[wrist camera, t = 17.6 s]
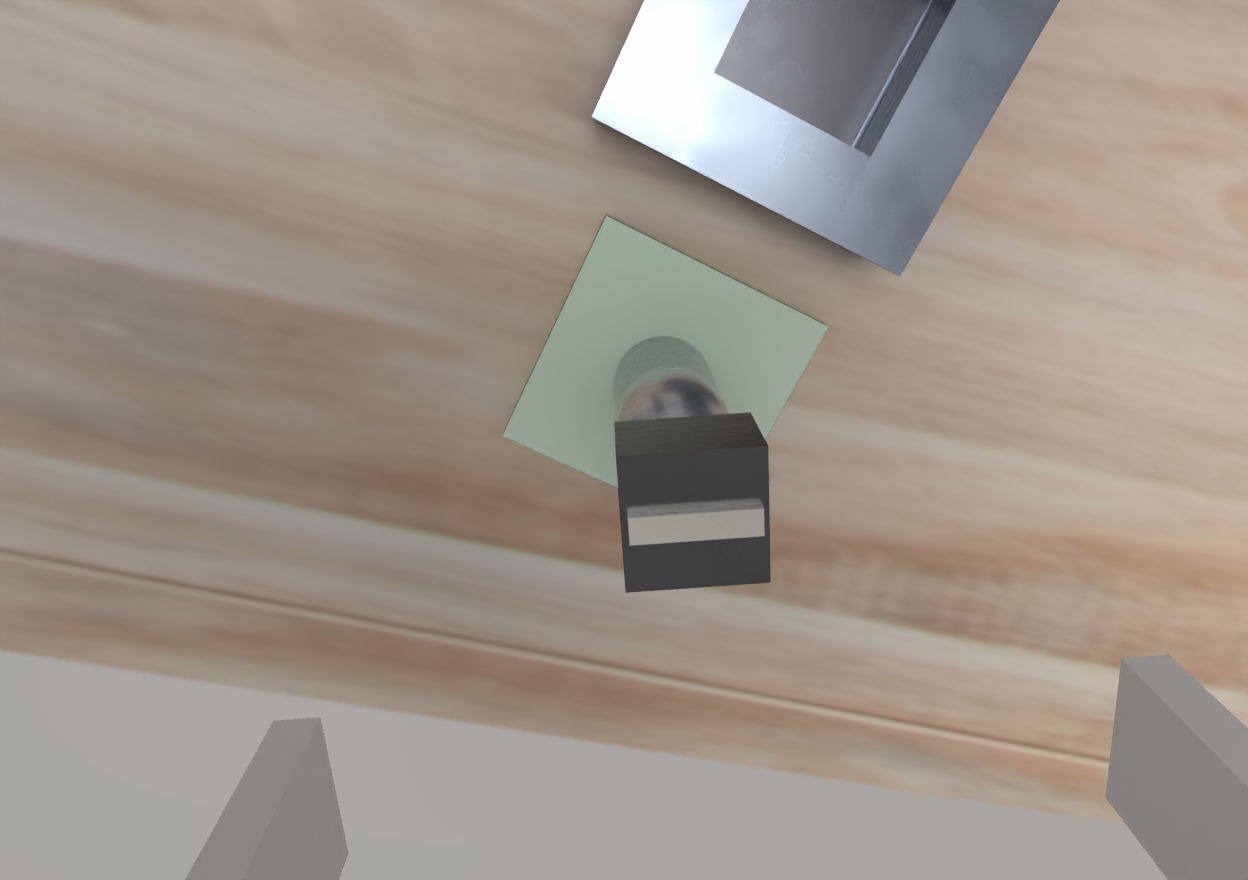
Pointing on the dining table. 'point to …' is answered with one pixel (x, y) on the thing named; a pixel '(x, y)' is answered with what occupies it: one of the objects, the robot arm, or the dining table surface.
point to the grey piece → (687, 475)
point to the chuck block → (824, 103)
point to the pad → (644, 308)
